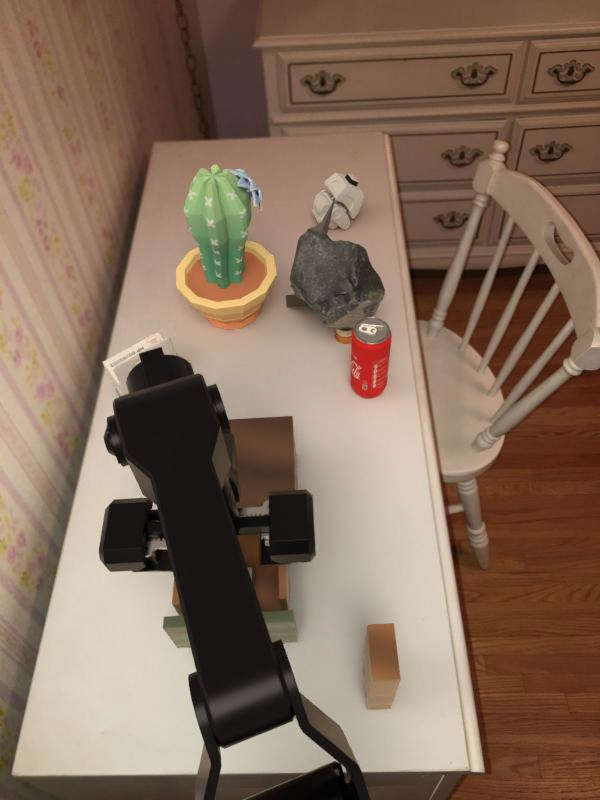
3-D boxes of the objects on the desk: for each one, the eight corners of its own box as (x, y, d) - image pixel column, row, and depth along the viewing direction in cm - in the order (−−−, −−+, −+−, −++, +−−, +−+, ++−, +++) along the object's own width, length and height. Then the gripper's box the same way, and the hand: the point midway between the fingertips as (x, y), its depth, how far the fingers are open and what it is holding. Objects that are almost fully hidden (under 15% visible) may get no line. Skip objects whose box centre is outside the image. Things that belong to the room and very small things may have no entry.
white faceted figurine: (340, 240, 114) (375, 193, 109) (313, 229, 110) (348, 180, 105) (326, 220, 117) (360, 175, 112) (300, 209, 113) (333, 160, 108)
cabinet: (300, 557, 78) (296, 525, 71) (180, 563, 78) (163, 532, 71) (296, 454, 87) (292, 415, 79) (188, 459, 87) (174, 422, 79)
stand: (390, 708, 68) (400, 679, 57) (366, 710, 68) (372, 681, 57) (385, 659, 71) (393, 622, 60) (362, 660, 71) (367, 624, 60)
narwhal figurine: (292, 368, 95) (284, 279, 81) (285, 295, 104) (277, 202, 90) (388, 359, 95) (397, 268, 81) (373, 287, 104) (379, 193, 90)
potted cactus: (273, 348, 98) (256, 213, 77) (174, 342, 99) (133, 208, 79) (287, 277, 107) (275, 139, 86) (196, 272, 108) (163, 136, 88)
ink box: (176, 383, 95) (153, 313, 83) (193, 404, 92) (172, 336, 80) (125, 413, 92) (93, 345, 80) (141, 436, 89) (111, 369, 77)
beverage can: (381, 404, 91) (386, 349, 81) (345, 395, 92) (346, 340, 82) (390, 376, 93) (396, 319, 84) (355, 368, 95) (357, 311, 85)
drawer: (298, 689, 68) (295, 672, 62) (173, 695, 69) (158, 679, 63) (293, 529, 79) (290, 501, 73) (185, 534, 79) (173, 508, 73)
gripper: (307, 403, 56) (312, 488, 69) (94, 414, 56) (139, 497, 69) (313, 520, 50) (318, 590, 62) (73, 533, 50) (126, 600, 63)
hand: (223, 564), depth 64 cm, fingers open, 7 cm apart
